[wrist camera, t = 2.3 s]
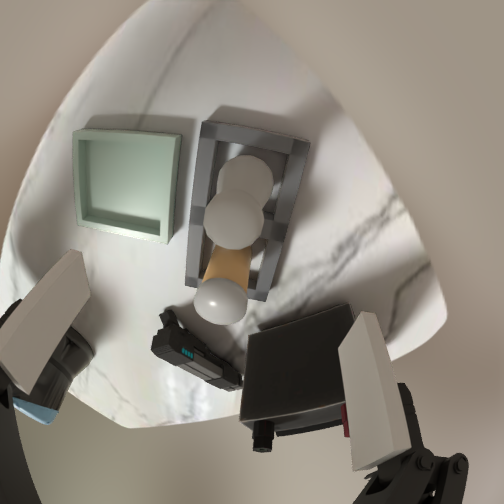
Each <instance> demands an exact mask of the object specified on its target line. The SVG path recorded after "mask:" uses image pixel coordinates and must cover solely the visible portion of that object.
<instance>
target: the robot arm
mask: <svg viewBox="0 0 504 504" xmlns="http://www.w3.org/2000/svg"><path fill="white" fill-rule="evenodd" d="M90 296H91V293H90V289H89V284H88V280H87V275H86V271H85V266H84V260H83V255H82V252H80V251H76V250H73V249H70V250H69V251H68V252H67V253H66V254H65V255H64V256H63V257H62V258H61V259H60V260H59V261H58V262H57V263H56V264H55V265H54V266H53V267H52V268H51V269H50V270H49V271H48V272H47V273H46V274H45V275H44V276H43V278H42V279H41V280H40V281H39V282H38V283H37V284H36V285H35V286H34V288H33V289H32V290H31V291H30V292H29V293H28V295H27V296H26V297H25V298H24V299H23V300H22V299H19V300H17V301H16V302H15V303H13V304H12V305H11V306H10V307H9V308H8V309H7V311H6V312H5V314H3V316H2V317H1V318H0V504H42V503H41V501H40V499H39V496H38V494H37V491H36V489H35V486H34V483H33V480H32V478H31V475H30V472H29V469H28V465H27V462H26V459H25V455H24V452H23V448H22V444H21V440H20V436H19V431H18V426H17V422H16V416H15V410H14V407H15V408H16V409H18V410H20V411H21V412H23V413H24V414H26V415H27V416H29V417H31V418H33V419H35V420H36V421H38V422H40V423H43V424H46V425H49V424H51V423H52V422H53V420H54V418H55V417H56V415H57V413H59V408H60V406H61V404H62V402H63V400H64V397H65V395H66V393H67V391H68V389H69V387H70V385H71V383H72V381H73V379H74V378H75V377H76V376H77V375H78V374H79V373H80V372H81V371H82V370H84V369H85V368H86V367H87V366H88V365H89V364H90V362H91V360H92V358H93V352H92V350H91V348H90V346H89V345H88V343H87V342H86V341H85V339H84V338H83V337H82V336H81V335H80V334H79V333H78V332H76V331H75V330H74V329H73V328H72V327H70V325H71V323H72V322H73V320H74V319H75V318H76V316H77V315H78V313H79V312H80V310H81V309H82V307H83V306H84V305H85V303H86V302H87V300H88V299H89V298H90ZM338 352H339V358H340V364H341V371H342V378H343V384H344V392H345V399H346V407H347V415H348V424H349V433H350V443H351V455H352V468H353V471H361V470H368V469H371V468H373V467H375V466H377V467H378V470H377V471H375V472H373V473H370V474H368V475H367V476H366V477H365V478H364V479H368V478H371V479H370V480H369V482H368V483H367V485H366V486H365V488H364V489H363V490H362V492H361V493H360V494H359V496H358V497H357V498H356V500H355V501H354V502H353V504H462V500H463V496H464V491H465V486H466V481H467V475H468V468H469V465H468V460H467V458H466V456H465V455H464V454H462V453H456V454H455V455H453V456H451V457H449V458H447V457H438V456H434V454H433V453H432V452H431V451H430V450H429V449H426V448H425V447H424V445H423V442H422V437H421V433H420V428H419V424H418V420H417V415H416V414H415V412H416V411H415V408H414V405H413V400H412V396H411V393H410V391H409V389H408V388H407V386H406V385H405V383H397V381H396V378H395V374H394V371H393V367H392V364H391V360H390V357H389V354H388V350H387V347H386V344H385V341H384V338H383V335H382V331H381V328H380V325H379V323H378V320H377V317H376V314H375V313H371V312H364V311H361V312H360V314H359V316H358V317H357V319H356V321H355V322H354V324H353V326H352V327H351V329H350V331H349V332H348V334H347V335H346V337H345V338H344V340H343V342H342V343H341V345H340V346H339V348H338ZM435 490H436V491H435ZM433 491H435V495H434V496H433V495H432V493H433Z"/></svg>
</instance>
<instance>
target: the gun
mask: <svg viewBox="0 0 504 504" xmlns="http://www.w3.org/2000/svg"><path fill="white" fill-rule="evenodd" d="M159 316H160V318H161V321H162V323H163V329H160V330H158V333H157V335H155V336H153V341H152V346H151V351H152V352H153V353H154V354H155V355H156V356H157V357H159V358H162V359H163V360H165V361H167V362H169V363H170V364H172V365H174V366H178V367H180V368H182V369H184V370H186V371H188V372H190V373H191V374H193V375H195V376H197V377H199V378H201V379H203V380H204V381H205V382H207V383H209V384H211V385H213V386H215V387H218V388H220V389H224V390H226V391H228V392H230V391H235V390H239V389H243V380H242V375H241V374H239V372H238V371H235V370H234V369H233V368H232V367H231V366H230V365H229V364H228V363H226V362H224V361H223V360H221V359H218V358H217V357H215V356H213V355H212V354H210V350H208V349H207V348H205V347H206V344H204V343H203V342H201V341H200V340H198V339H197V338H195V337H194V336H192V335H191V334H189V333H188V330H187V329H182V328H181V327H179V323H178V321H177V319H176V316H175V314H174V312H173V311H172V310H169V311H167V312H164V313H162V314H160V315H159Z"/></svg>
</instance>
